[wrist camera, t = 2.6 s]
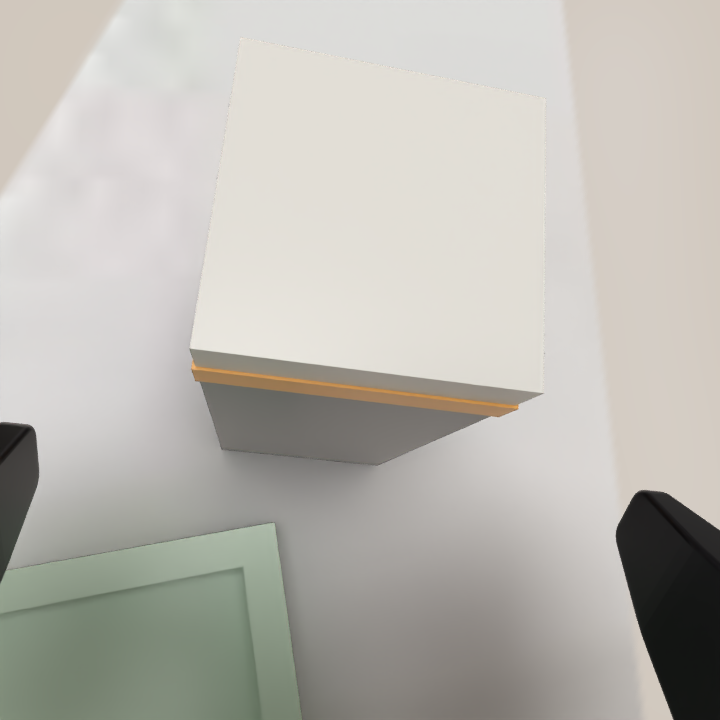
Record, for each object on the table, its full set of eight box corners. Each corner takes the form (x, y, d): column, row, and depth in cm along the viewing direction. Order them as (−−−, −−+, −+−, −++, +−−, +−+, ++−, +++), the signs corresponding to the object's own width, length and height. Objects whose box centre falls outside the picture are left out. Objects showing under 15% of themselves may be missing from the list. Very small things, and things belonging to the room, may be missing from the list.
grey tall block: (378, 467, 20) (546, 397, 9) (220, 450, 20) (184, 351, 8) (389, 319, 22) (548, 95, 10) (241, 298, 21) (238, 33, 10)
